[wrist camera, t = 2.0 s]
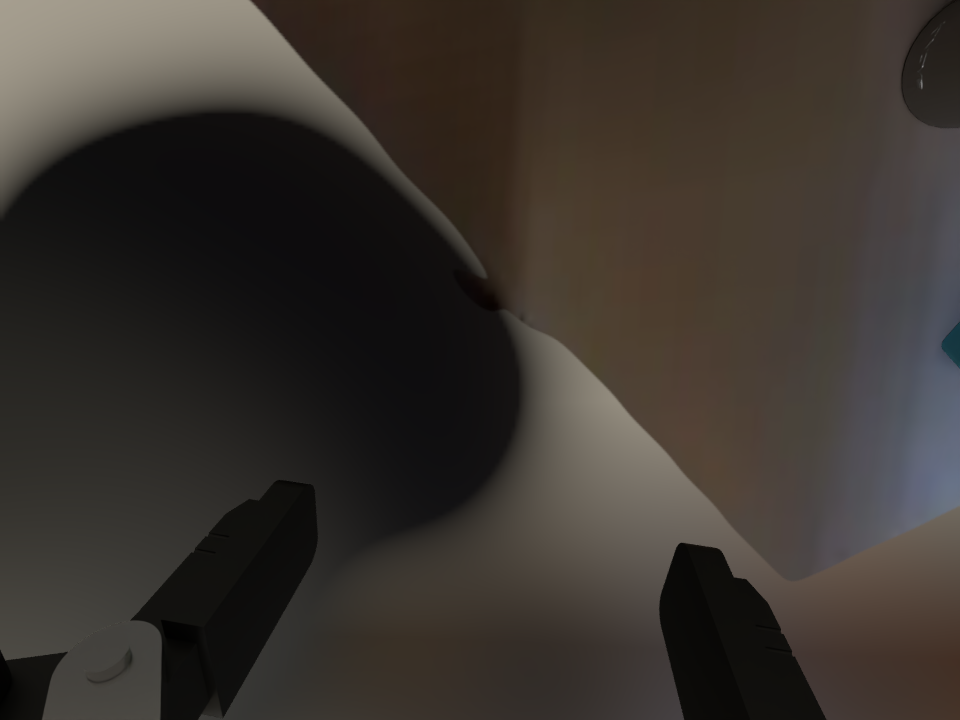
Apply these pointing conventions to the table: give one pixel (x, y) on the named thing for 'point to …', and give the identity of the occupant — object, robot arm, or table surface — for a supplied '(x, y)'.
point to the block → (953, 345)
